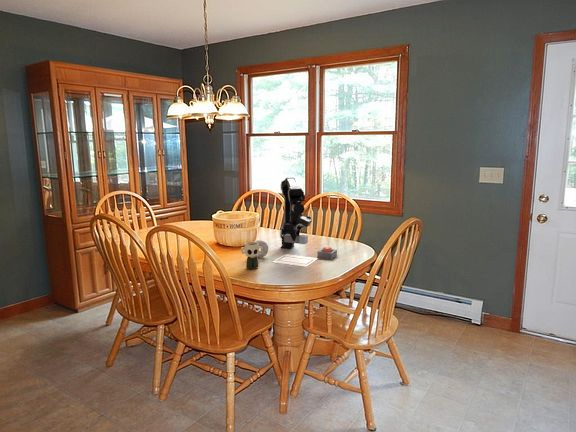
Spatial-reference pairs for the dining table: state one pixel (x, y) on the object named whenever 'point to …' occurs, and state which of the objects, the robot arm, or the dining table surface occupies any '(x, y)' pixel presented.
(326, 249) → the button
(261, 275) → the dining table surface
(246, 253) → the big-eyed character figurine
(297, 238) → the gray rectangular block
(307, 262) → the paper sheet
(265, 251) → the donut
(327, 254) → the button housing
